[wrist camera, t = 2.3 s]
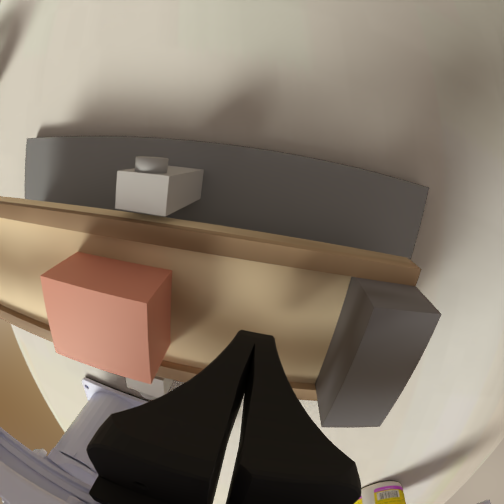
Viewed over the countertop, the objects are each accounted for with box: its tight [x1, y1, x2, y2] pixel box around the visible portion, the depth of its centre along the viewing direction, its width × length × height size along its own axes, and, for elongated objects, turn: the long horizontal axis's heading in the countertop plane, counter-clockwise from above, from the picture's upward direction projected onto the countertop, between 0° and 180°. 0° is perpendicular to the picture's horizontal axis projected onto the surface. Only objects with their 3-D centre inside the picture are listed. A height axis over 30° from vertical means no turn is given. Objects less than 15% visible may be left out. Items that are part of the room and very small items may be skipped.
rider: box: [40, 252, 172, 384], centre depth 12 cm, size 4×5×3 cm
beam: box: [0, 196, 441, 427], centre depth 12 cm, size 8×24×4 cm, turn 82°
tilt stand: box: [25, 136, 429, 400], centre depth 15 cm, size 15×27×6 cm, turn 82°
